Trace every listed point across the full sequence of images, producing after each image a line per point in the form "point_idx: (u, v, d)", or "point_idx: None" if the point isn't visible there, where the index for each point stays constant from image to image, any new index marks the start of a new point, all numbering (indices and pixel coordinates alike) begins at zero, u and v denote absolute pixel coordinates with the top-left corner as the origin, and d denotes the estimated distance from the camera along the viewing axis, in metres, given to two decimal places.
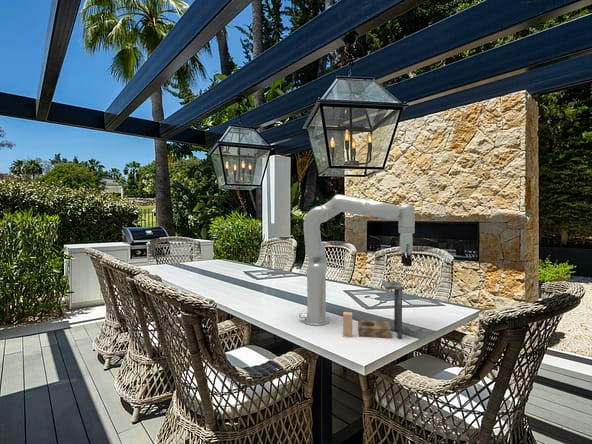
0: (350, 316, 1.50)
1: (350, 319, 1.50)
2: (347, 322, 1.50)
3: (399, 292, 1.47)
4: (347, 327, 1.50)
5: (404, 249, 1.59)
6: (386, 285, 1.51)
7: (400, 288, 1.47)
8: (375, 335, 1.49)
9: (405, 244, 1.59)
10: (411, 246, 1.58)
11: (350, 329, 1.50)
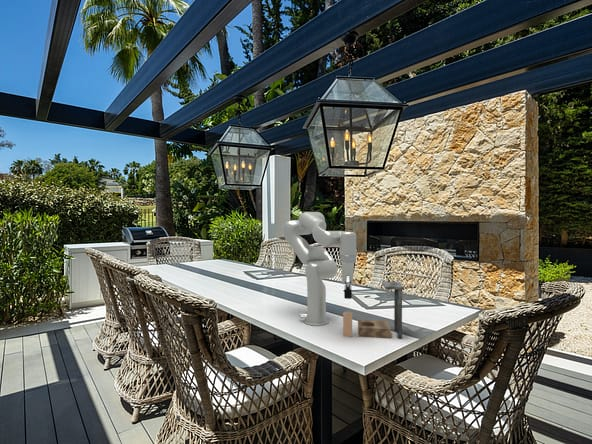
0: (350, 316, 1.50)
1: (350, 319, 1.50)
2: (347, 322, 1.50)
3: (399, 292, 1.47)
4: (347, 327, 1.50)
5: (343, 280, 1.47)
6: (386, 285, 1.51)
7: (400, 288, 1.47)
8: (375, 335, 1.49)
9: (345, 275, 1.47)
10: (351, 277, 1.47)
11: (350, 329, 1.50)
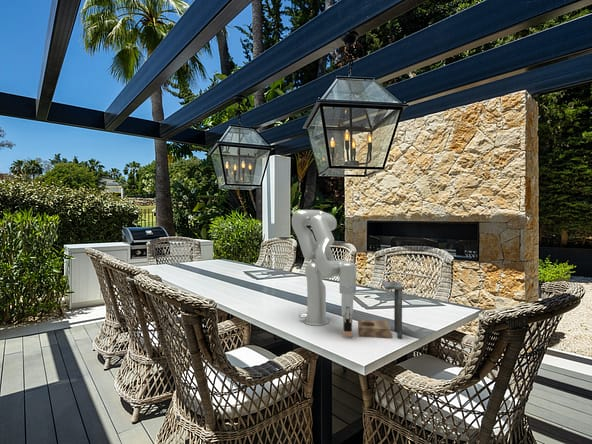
0: None
1: None
2: None
3: (399, 292, 1.47)
4: None
5: (343, 312, 1.47)
6: (386, 285, 1.51)
7: (400, 288, 1.47)
8: (375, 335, 1.49)
9: (344, 306, 1.47)
10: (351, 309, 1.47)
11: None
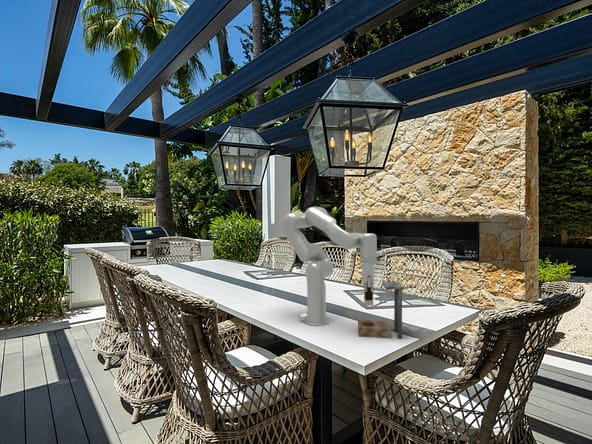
0: None
1: None
2: None
3: (399, 292, 1.47)
4: None
5: (365, 281, 1.50)
6: (386, 285, 1.51)
7: (400, 288, 1.47)
8: (375, 335, 1.49)
9: (366, 275, 1.50)
10: (372, 278, 1.50)
11: None
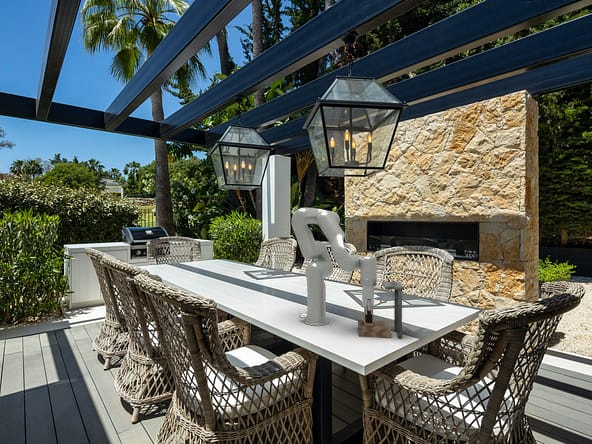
0: None
1: None
2: None
3: (399, 292, 1.47)
4: None
5: (365, 304, 1.50)
6: (386, 285, 1.51)
7: (400, 288, 1.47)
8: (375, 335, 1.49)
9: (366, 299, 1.50)
10: (372, 301, 1.50)
11: None
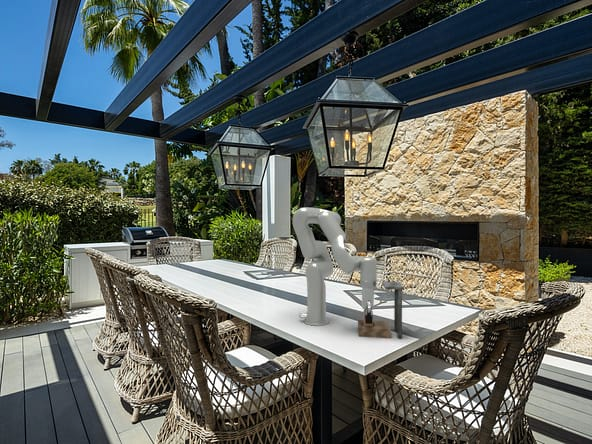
0: None
1: None
2: None
3: (399, 292, 1.47)
4: (368, 325, 1.53)
5: (364, 305, 1.50)
6: (386, 285, 1.51)
7: (400, 288, 1.47)
8: (375, 335, 1.49)
9: (365, 300, 1.50)
10: (372, 302, 1.50)
11: None
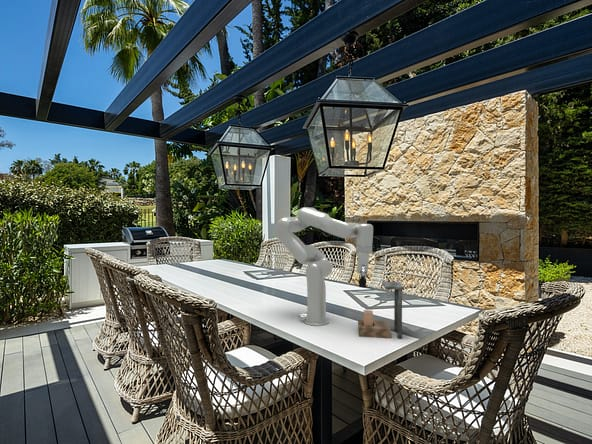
0: (371, 314, 1.53)
1: (370, 317, 1.53)
2: (368, 320, 1.53)
3: (399, 292, 1.47)
4: (368, 325, 1.53)
5: (359, 269, 1.54)
6: (386, 285, 1.51)
7: (400, 288, 1.47)
8: (375, 335, 1.49)
9: (360, 264, 1.54)
10: (366, 267, 1.54)
11: None
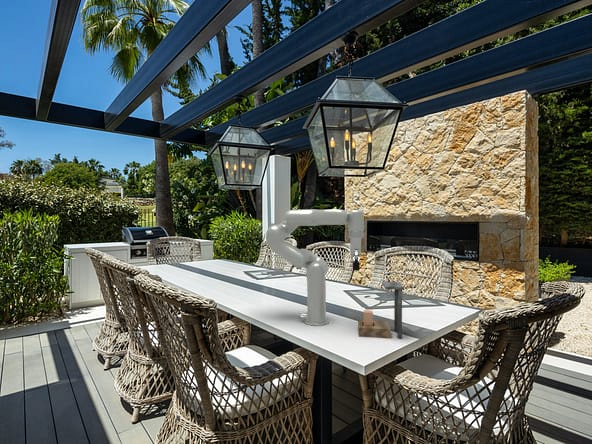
0: (371, 314, 1.53)
1: (370, 317, 1.53)
2: (368, 320, 1.53)
3: (399, 292, 1.47)
4: (368, 325, 1.53)
5: (352, 253, 1.61)
6: (386, 285, 1.51)
7: (400, 288, 1.47)
8: (375, 335, 1.49)
9: (353, 249, 1.61)
10: (359, 251, 1.61)
11: None
